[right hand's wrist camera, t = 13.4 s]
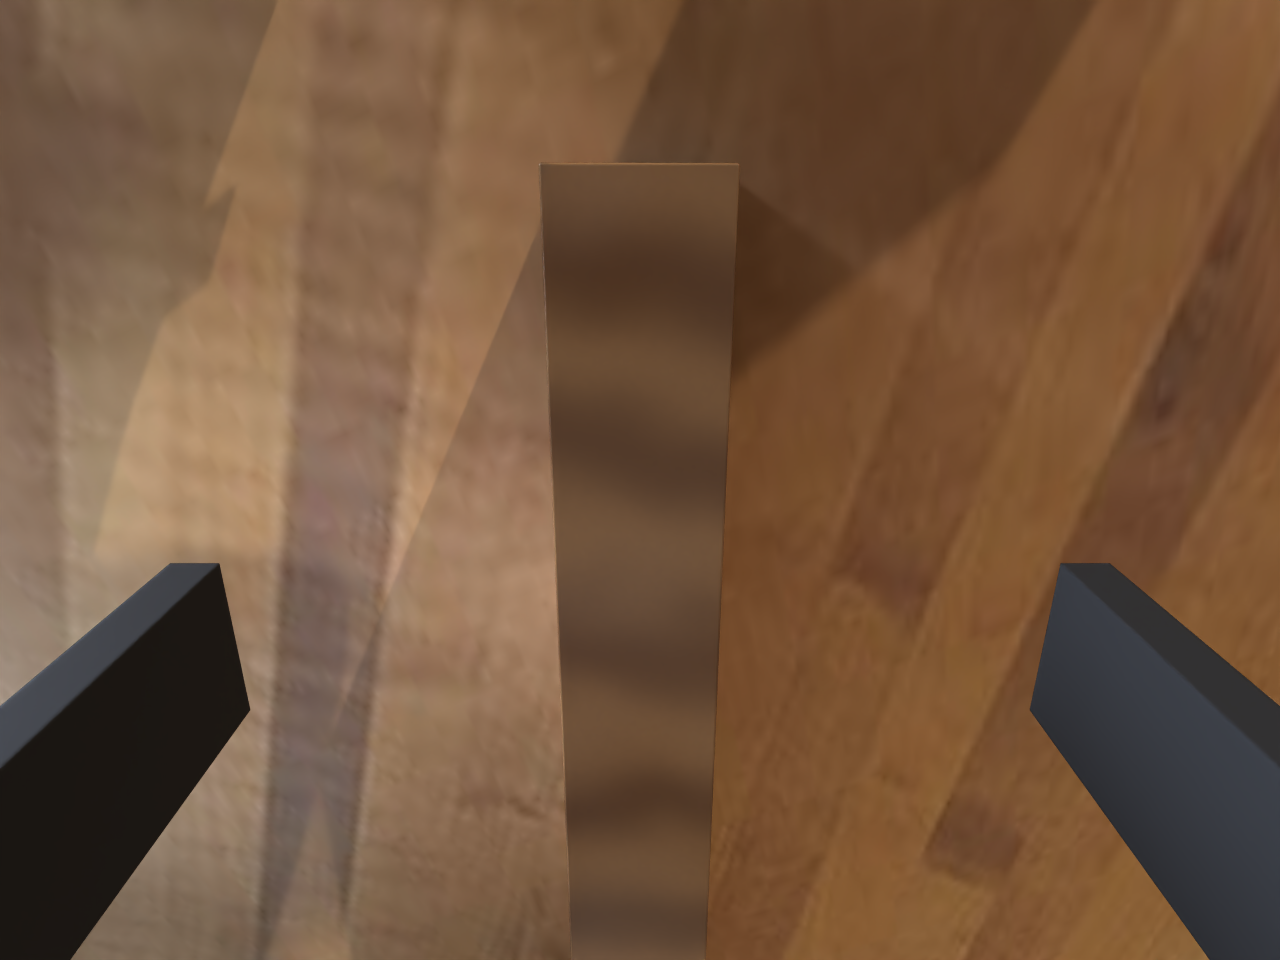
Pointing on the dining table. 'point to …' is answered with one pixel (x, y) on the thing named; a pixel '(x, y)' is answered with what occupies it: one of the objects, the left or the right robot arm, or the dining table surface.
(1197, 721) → the right robot arm
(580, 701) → the beam
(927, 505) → the dining table surface
